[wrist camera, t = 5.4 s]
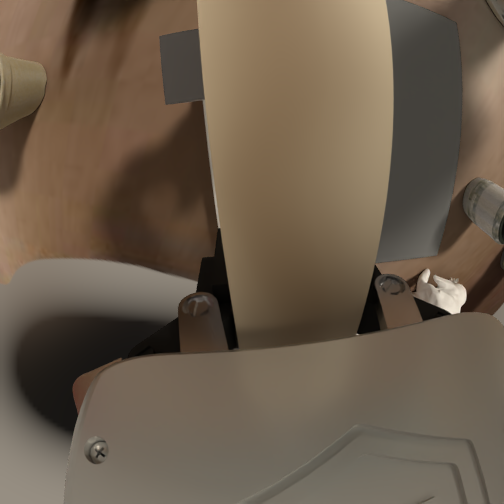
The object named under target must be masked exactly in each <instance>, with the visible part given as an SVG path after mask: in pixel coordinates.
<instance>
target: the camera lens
mask: <svg viewBox="0 0 504 504" xmlns="http://www.w3.org/2000/svg"><path fill="white" fill-rule="evenodd" d="M463 209H464V211H465V213H466V214H467V215H468V217H469V218H470V219H471V220H472V222H473V223H474V224H476V225H477V226H478V227H479V228H481V229H482V230H483V231H484V232H485V233H486V234H488V235H489V236H490V237H491V238H492V239H493V240H494V241H496V242H497V243H498V244H504V189H503V188H501V187H500V186H498V185H496V184H495V183H493V182H492V181H489V180H487V179H482V178H475V179H474V180H473V181H471V182H470V184H469V185H468V186H467V188H466V191H465V193H464V197H463Z"/></svg>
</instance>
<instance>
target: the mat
mask: <svg viewBox="0 0 504 504" xmlns="http://www.w3.org/2000/svg"><path fill="white" fill-rule="evenodd" d="M386 5H387V12H388V19H389V27H390V36H391V47H392V62H393V95H394V102H393V136H392V151H391V163H390V174H389V183H388V191H387V199H386V206H385V213H384V219H383V225H382V231H381V236H380V242H379V247H378V252H377V257H376V261H375V263H381V262H389V261H397V260H406V259H413V258H421V257H429V256H436V255H437V253H438V250H439V247H440V243H441V240H442V236H443V232H444V229H445V225H446V221H447V217H448V212H449V208H450V203H451V199H452V194H453V188H454V183H455V177H456V170H457V164H458V156H459V147H460V137H461V123H462V66H461V53H460V44H459V36H458V29H457V23H456V22H454V21H452V20H450V19H448V18H446V17H444V16H441V15H439V14H437V13H435V12H432V11H430V10H428V9H425V8H423V7H420V6H418V5H415V4H412V3H409V2H407V1H404V0H386Z"/></svg>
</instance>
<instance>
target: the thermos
mask: <svg viewBox="0 0 504 504" xmlns="http://www.w3.org/2000/svg"><path fill="white" fill-rule="evenodd" d="M500 265H501V268H502V269H503V270H504V250H503V253H502V256H501V262H500Z"/></svg>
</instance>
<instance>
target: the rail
mask: <svg viewBox="0 0 504 504" xmlns="http://www.w3.org/2000/svg"><path fill="white" fill-rule="evenodd" d="M197 9H198V24H199V38H200V51H201V63H202V74H203V85H204V95H205V105H206V115H207V124H208V133H209V142H210V151H211V159H212V168H213V176H214V184H215V192H216V199H217V207H218V214H219V222H220V229H221V236H222V243H223V250H224V257H225V263H226V270H227V277H228V283H229V290H230V296H231V302H232V308H233V314H234V321H235V326H236V332H237V338H238V344H239V349H252V348H263V347H274V346H283V345H292V344H300V343H308V342H315V341H322V340H329V339H336V338H342V337H348V336H354V335H356V334H357V331H358V327H359V324H360V321H361V317H362V314H363V310H364V306H365V303H366V299H367V295H368V291H369V287H370V283H371V279H372V275H373V270H374V266H375V261H376V257H377V252H378V247H379V242H380V236H381V231H382V225H383V219H384V213H385V206H386V199H387V191H388V183H389V174H390V163H391V151H392V136H393V102H394V95H393V62H392V47H391V36H390V27H389V19H388V12H387V5H386V0H197Z"/></svg>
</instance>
